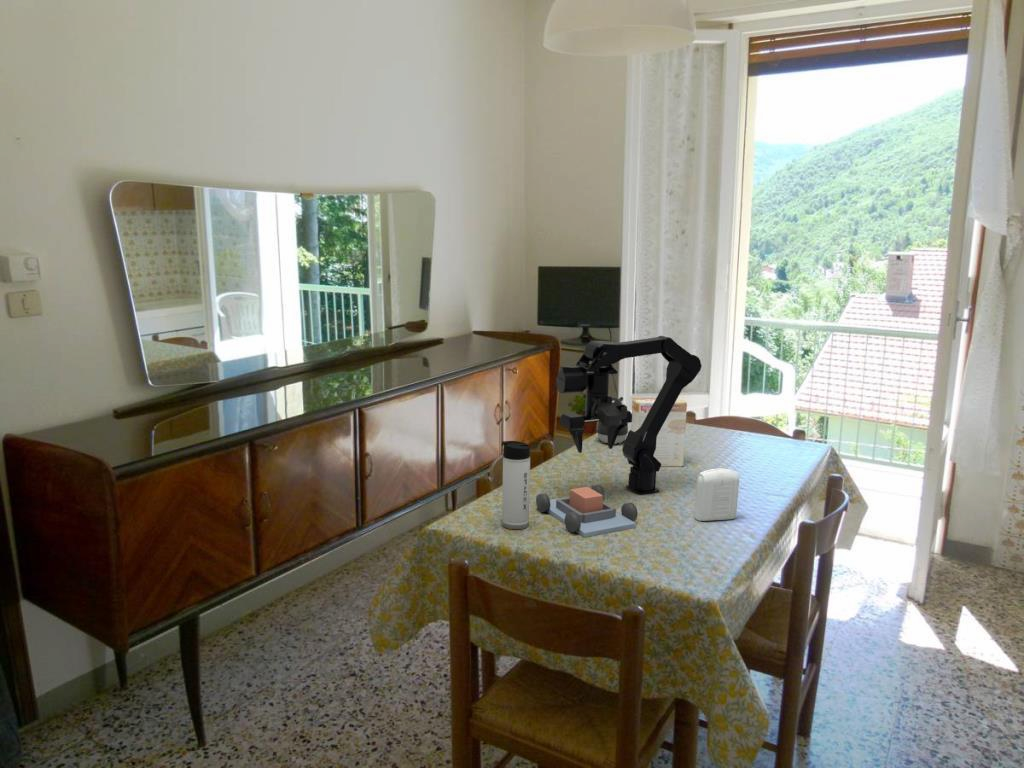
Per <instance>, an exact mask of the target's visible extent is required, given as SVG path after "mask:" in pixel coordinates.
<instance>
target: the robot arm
mask: <svg viewBox="0 0 1024 768" xmlns="http://www.w3.org/2000/svg"><path fill="white" fill-rule="evenodd" d="M657 354H661V356H662V358H664V359H665V360H666V361H667V362H668V364H667V366H666V371H665V372H666V373H665V377H666V378H665V381H664V383H663V385H662V387H661V389H660V391H659V393H658V395H657V396H656V397H655V398H656V400H655V401H654V403H653V405H652V407H651V409H650V411H649V413H648V414H647V416H646V418H645V420H644V422H643V424H642V425H641V427H640V428H639V429H638V430H637V431H635V432H633V431H632V430H631V429H629V430H628V433H627V435H626V438H625V439H624V441H623V442H621V443H622V444H623V445H622V448H621V451H622V455H623V456H624V458H625V459H627V463H628V464H629V465H630V468H629V473H628V485H625V488H626V489H628V490H630V491H632V492H633V493H635V494H637V495H645V494H651V493H657V492H660V489H659V488H658V487H656V484H657V483H656V482H657V481H656V480H657V473H658V472H660V469H661V467H662V466H661V463H660V462H659V461H658V460H657V459H656V458H655V457H654V456H653V455H654V453H655V450H656V441H657V435H658V433H659V431H660V430H661V428H662V426H663V424H664V422H665V420H666V418H667V417H668V415H669V413H670V411H671V409H672V407H673V406H674V404H675V402H676V400H677V398H679V396H680V395H681V393H682V391H683V389H684V388H685V387H687V386H688V385H689V384H691V383H692V382H693V381H694V380H695V379H696V377H697V376H698V374H699V373H700V371H701V370H702V363H701V359H700V358H699V356H698V355H695V354H693V353H690V352H689V351H687V350H686V349H685V348H683V347H681V345H680V344H678V343H677V342H676V341H675V340H674V339H673V338H672V337H668V336H664V335H659V336H656V337H649V338H642V339H641V338H640V339H634V340H627V341H621V342H616V341H615V342H614V341H606V340H605V341H604V340H592V341H589V342H588V343H587V345H586V346H585V348H584V352H583V354H582V355H581V356H580V357H579V359H578V360H577V362H576V363H575V365H572V366H567V365H561V366H560V367H559V368H560V370H559V371H558V374H557V377H556V389H557V391H558V392H559V394H572V393H573V394H574V393H577V394H578V393H583V392H584V391H586V392H585V393H583V395H582V398H584V399H585V408H583V409H582V414H583V415H581V414H578V413H575V412H568V413H562V414H561V415H560V417H559V425H560V426H563V427H564V428H566V429H567V430H568V432H569V433H570V435H571V437H572V440H573V442H574V445H575V447H576V449H577V452H578V453H579V454H582V452H583V438H584V437H583V435H584V432H585V430H586V429H585V428H584V426H585V424H587V423H597V422H598V421H600V422H601V423H602V425H603V426H606V427H607V437H608V444H607V445H608V446H607V447H608V449H610V450H613V447H614V445H615V444H614V443H615V440H616V438H617V435H618V433H619V432H620V430H621V429H622V428H623V427H624V426H627V425H629V423H630V424H631V422H632V411H631V410H628V406H627V405H626V404H623V403H622V404H623V405H618V406H617V405H613V404H612V397H613V396H611V395H609V394H610V392H609V391H610V375H617V374H618V372H619V370H616V369H615V368H614V366H613V365H614V364H617V363H618V362H620V361H622V360H624V359H629V358H635V357H642V356H649V355H651V356H652V355H657Z"/></svg>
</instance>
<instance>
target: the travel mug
mask: <svg viewBox="0 0 1024 768" xmlns="http://www.w3.org/2000/svg"><path fill="white" fill-rule="evenodd" d="M501 446H502V447H503V451H502V452H503V453H502V494H501V495H502V501H501V503H502V509H501V511H502V512H501V513H502V514H501V516H502V517H501V518H502V519H501V525H502V526H503V527H504V528H505V527H506V528H505V529H507V528H508V530H512V529H520V530H525V529H526V528H528V527H529V526H530V492H531V491H530V488H531V486H530V483H531V480H530V479H531V446H530V445H529V444H528V443H526V442H523V441H517V440H505V441H504V440H502V441H501Z"/></svg>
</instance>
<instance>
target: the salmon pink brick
mask: <svg viewBox="0 0 1024 768" xmlns="http://www.w3.org/2000/svg"><path fill="white" fill-rule="evenodd" d="M569 497H570V503H569V506H571V507H573V508H574V509H576V510H577V511H579V512H580V513H582V514H584V513H589V512H595V511H601V510H603V502H604V501H603V495H601V494H600V493H598V492H596V491H594V490H593V489H591V487H589V486H584V487H576V488H572V489H571V488H570V489H569Z"/></svg>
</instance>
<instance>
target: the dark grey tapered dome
mask: <svg viewBox="0 0 1024 768" xmlns="http://www.w3.org/2000/svg"><path fill="white" fill-rule="evenodd" d="M611 397H612V404H613V405H617V406H618V405H623V402H622V401H624V397H623V396H620V397H619V398H618V397H616V396H611ZM628 425H629V424H628ZM628 425H627V426H624V427H623V428H622V429H621V430H620V432H619V433H618V435H617V438H616V440H615V443H614V445H618V444H617V443H619V444H621V443H622V442H623V441H624V440H625V439H626V437H627V435H628V432H629V426H628ZM595 431H596V433H597V437H598V439H599V440H600V441H601V442H602V443H604V444H606V443H608V437H607V427H606V426H603V425H602V423H601V422H600V421H598V422H596V430H595Z"/></svg>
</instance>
